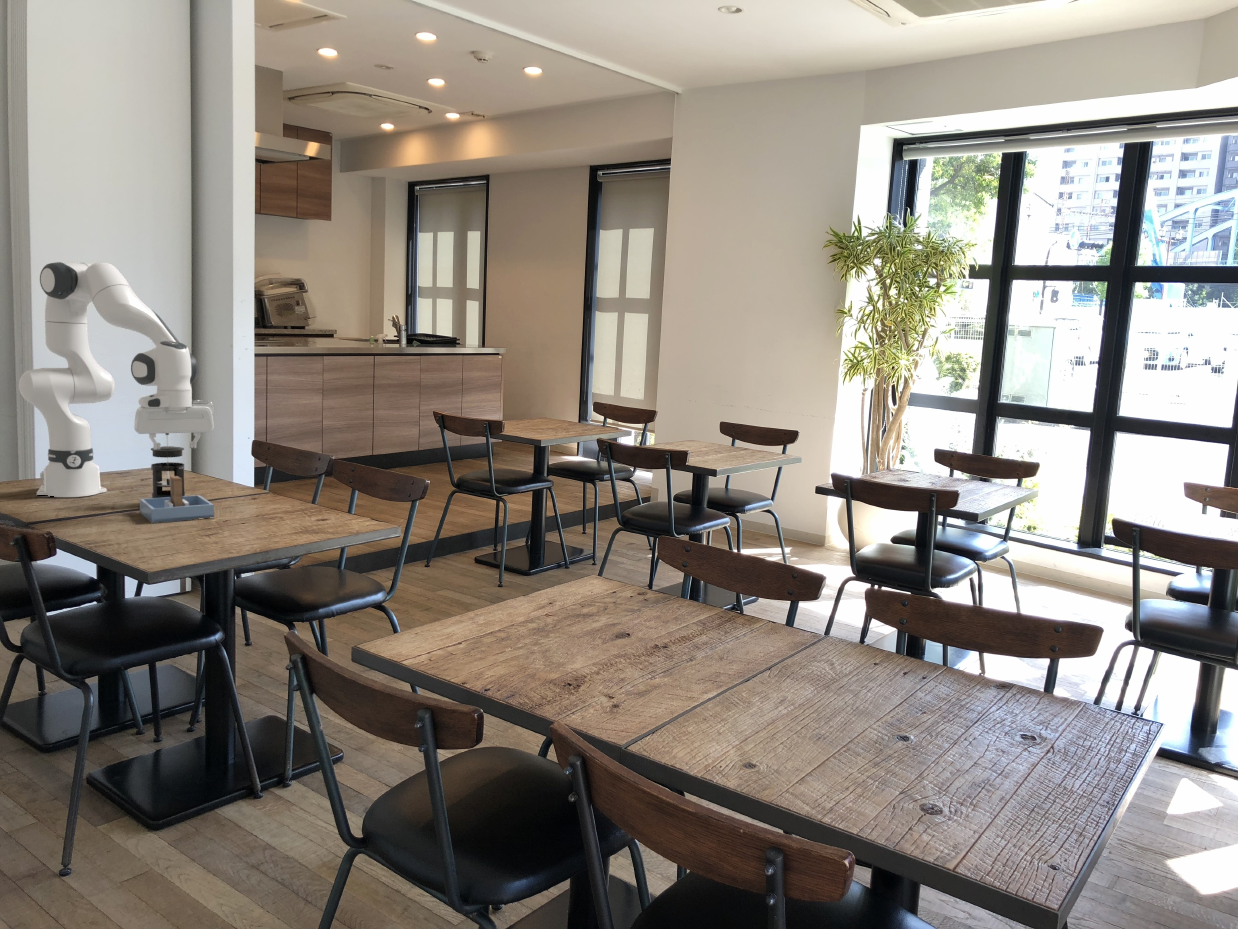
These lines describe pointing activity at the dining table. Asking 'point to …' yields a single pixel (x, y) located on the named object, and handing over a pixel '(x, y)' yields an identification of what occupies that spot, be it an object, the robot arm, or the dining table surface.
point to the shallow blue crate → (176, 509)
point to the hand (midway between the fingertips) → (175, 448)
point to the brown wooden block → (176, 491)
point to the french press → (168, 466)
